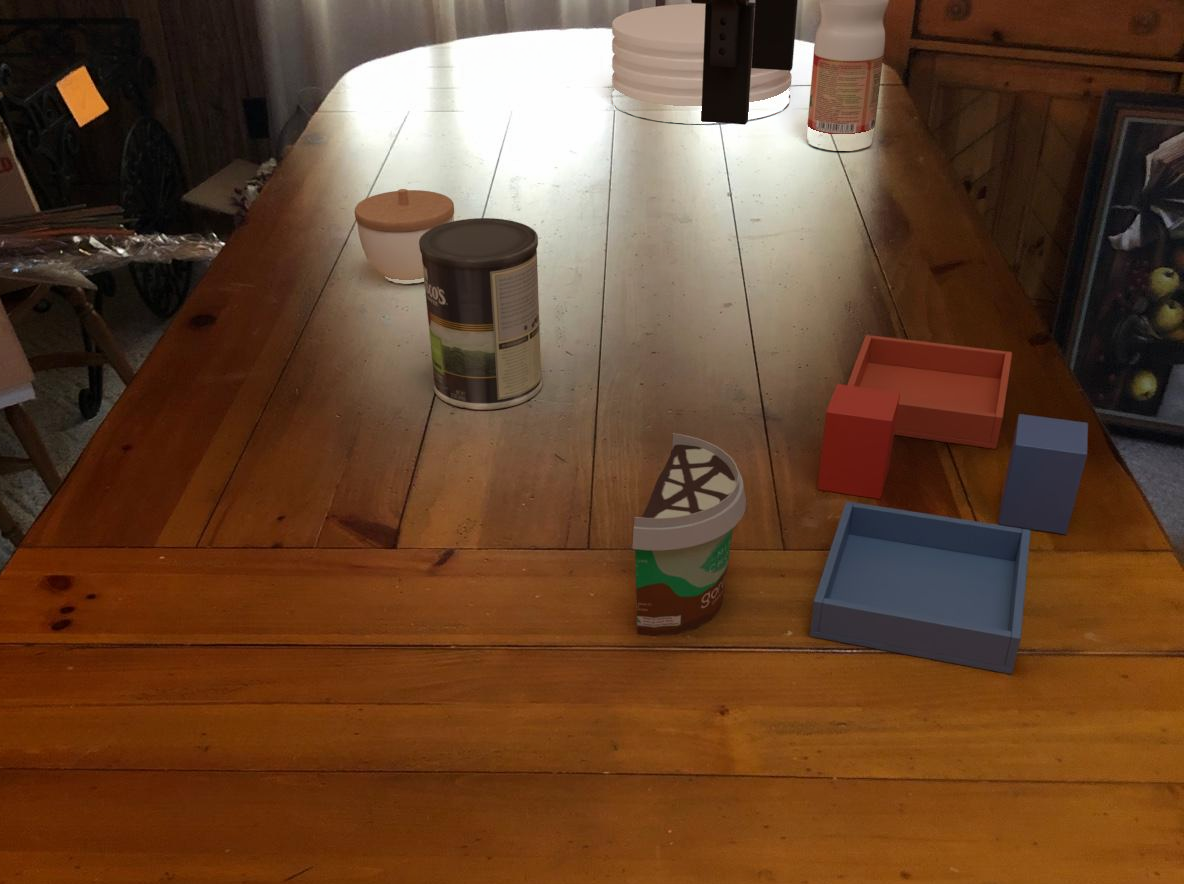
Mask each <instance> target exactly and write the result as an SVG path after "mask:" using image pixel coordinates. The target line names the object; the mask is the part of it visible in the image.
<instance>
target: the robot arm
mask: <svg viewBox="0 0 1184 884" xmlns="http://www.w3.org/2000/svg"><path fill="white" fill-rule="evenodd" d="M798 1H799V0H754V2H750V0H690V2H691V4H705V30H704V57H703V84H702V111H701V121H702V122H716V123H729V125H730V124H731V125H744V126H745V125H747V123H748V122H749V121H748V112H749V95H750V78H751V68H756V69H772V70H788V71H790V70H791V69H792V70H793V65H794V64H793V63H794V54H795V53H794V51H795V42H796V41H795V40H796V26H797V13H798ZM754 10H755V13H754ZM753 27H754V30H753ZM752 44H753V47H752ZM751 61H752V64H751ZM792 70H791V71H792ZM791 71H790V72H791Z"/></svg>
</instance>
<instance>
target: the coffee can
mask: <svg viewBox="0 0 1184 884" xmlns="http://www.w3.org/2000/svg"><path fill="white" fill-rule="evenodd" d="M538 245H539V236H538V233H537V231H536V230H535V229H533V228H532V227H530V226H528V225H527V224H524V223H522V222H518V221H514V220H510V219H504V218H496V217H477V218H475V217H474V218H466V219H458V220H454V221H453V222H449V223H445V224H442V225H439V226H436V227H434V228H432V229H430V230H429V231H427V232H426V233H424V234H423V235H422V236H421V238H420V240H419V247H420V252H421V254H422V262H423V274H424V291H425V300H426V301H425V303H426V313H427V321H428V331H429V342H430V351H431V353H430V354H431V361H432V373H433V391H434V393H435V395H436V396H437V397H438V398H439V399H440V400H441V401H443V402H445V403H446V404H448V405H450V406H454V407H457V408H460V409H466V410H471V411H472V410H473V411H493V410H494V411H495V410H501V409H502V410H503V409H507V408H511V407H512V408H513V407H516V406H518V405H519V406H520V405H521V404H524V403H526V402H527V401H529V400H531V399H533V398H534V397H536V396H537V395H538V393H539V392H540V391H541V389H542V387H543V383H544V381H543V377H542V375H543V374H542V352H541V329H540V327H541V326H540V302H539V301H540V300H539V274H538V273H539V272H538V271H539V270H538V247H539V246H538Z"/></svg>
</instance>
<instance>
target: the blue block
mask: <svg viewBox="0 0 1184 884" xmlns="http://www.w3.org/2000/svg"><path fill="white" fill-rule="evenodd" d="M1088 437H1089V423H1088V422H1085V421H1076V420H1069V419H1062V418H1061V419H1060V418H1052V417H1047V416H1038V415H1030V414H1023V413H1019V414H1018V416H1017V421H1016V424H1015V430H1014V435H1013V440H1012V443H1011V448H1010V449H1011V450H1010V452H1009V457H1008V461H1007V463H1008V464H1007V467H1006V472H1005V476H1004V480H1003V486H1002V491H1001V497H1000V503H999V504H1000V505H999V511H998V519H997V525H1002V526H1008V527H1015V528H1021V529H1027V530H1031V531H1032V530H1034V531H1038V532H1039V531H1040V532H1046V533H1051V534H1058V535H1065V536H1066V535H1067V534H1068V530H1069V526H1070V523H1071V519H1072V516H1073V511H1074V507H1075V505H1076V499H1077V496H1078V492H1079V489H1080V488H1079V487H1080V484H1081V480H1082V477H1083V473H1084V469H1085V464H1086V462H1087V457H1088V444H1089V443H1088V440H1089V439H1088Z"/></svg>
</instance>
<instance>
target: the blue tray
mask: <svg viewBox="0 0 1184 884" xmlns="http://www.w3.org/2000/svg"><path fill="white" fill-rule="evenodd" d="M1031 533H1032V529H1026V528H1019V527H1013V526H1006V525H1000V524H995V523H989V522H983V521H977V520H969V519H963V518H957V517H950V516H944V515H937V514H931V513H924V512H918V511H912V510H906V509H899V508H893V507H886V506H882V505H881V506H880V505H874V504H866V503H861V502H854V501H845V502H844V505H843V508H842V512H841V515H840V518H839V521H838V524H837V527H836V530H835V533H834V536H833V539H832V542H831V546H830V549H829V551H828V555H827V558H826V561H825V564H824V568H823V571H822V574H821V577H820V580H819V584H818V586H817V589H816V592H815V595H814V598H813V602H812V611H811V621H810V628H809V629H810V630H809V637H812V638H815V639H816V638H817V639H821V640H828V641H832V642H838V643H841V644H842V643H843V644H849V645H852V646H853V645H854V646H859V647H864V648H869V649H875V650H880V651H885V652H891V653H897V654H900V655H901V654H902V655H907V656H911V657H912V656H913V657H917V658H923V659H928V660H934V661H939V662H943V663H949V664H955V665H960V666H965V667H969V668H970V667H971V668H974V669H975V668H976V669H981V670H987V671H991V672H996V673H1002V674H1008V675H1013V673H1014V668H1015V664H1016V660H1017V656H1018V651H1019V649H1020V644H1021V640H1022V632H1023V620H1024V608H1025V598H1026V587H1027V576H1028V567H1029V566H1028V565H1029V557H1030V556H1029V554H1030V553H1029V552H1030V544H1031V535H1032V534H1031Z"/></svg>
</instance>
